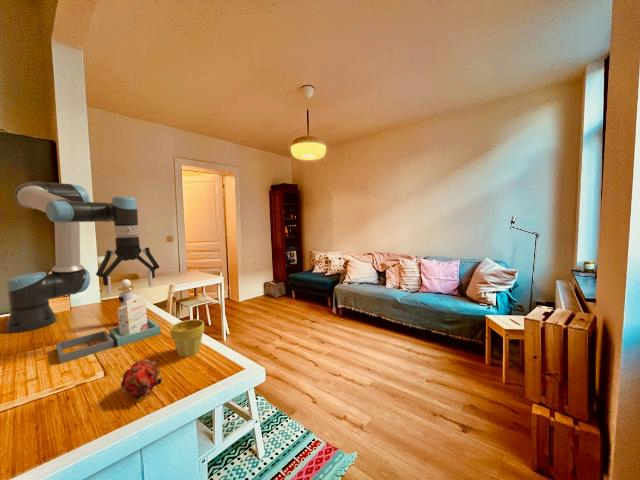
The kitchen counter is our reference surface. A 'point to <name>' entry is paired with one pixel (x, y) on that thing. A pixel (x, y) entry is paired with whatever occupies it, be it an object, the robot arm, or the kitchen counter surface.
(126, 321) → the ink cartridge box
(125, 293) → the perfume bottle
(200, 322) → the plant pot
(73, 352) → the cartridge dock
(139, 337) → the teal tray
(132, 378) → the dragon fruit
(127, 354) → the kitchen counter surface
